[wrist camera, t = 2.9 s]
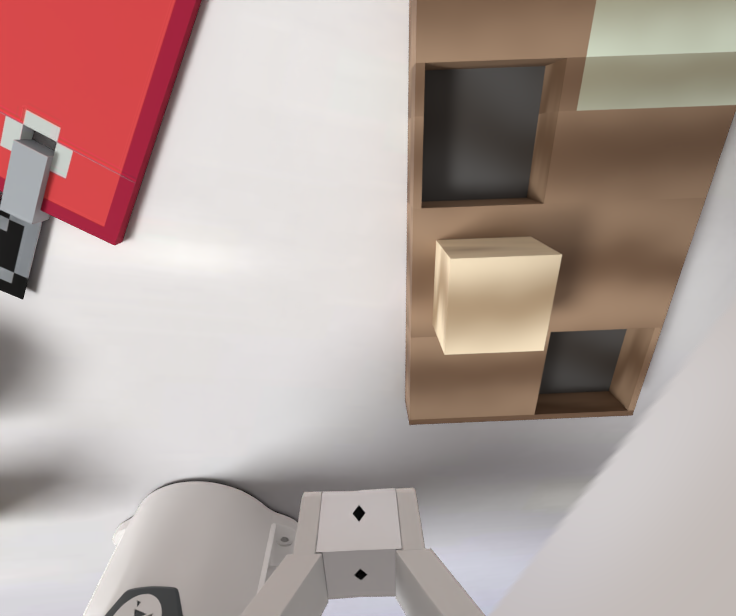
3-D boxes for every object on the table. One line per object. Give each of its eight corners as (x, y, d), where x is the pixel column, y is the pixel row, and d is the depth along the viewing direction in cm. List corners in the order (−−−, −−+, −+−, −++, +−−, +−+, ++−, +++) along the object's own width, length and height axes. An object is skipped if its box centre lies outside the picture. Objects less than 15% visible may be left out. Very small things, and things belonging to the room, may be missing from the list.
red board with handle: (-132, 225, 25) (98, 321, 29) (-186, 235, 23) (73, 339, 26) (-88, -407, 15) (253, -134, 19) (-176, -517, 13) (239, -176, 16)
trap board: (609, 391, 33) (632, 415, 30) (405, 400, 32) (409, 424, 30) (743, -60, 20) (803, -91, 17) (409, -49, 20) (418, -78, 17)
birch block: (517, 320, 26) (543, 350, 22) (432, 324, 26) (444, 354, 22) (530, 236, 23) (562, 254, 20) (436, 240, 23) (450, 258, 20)
